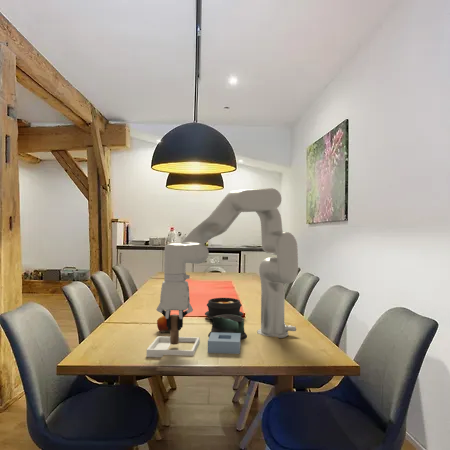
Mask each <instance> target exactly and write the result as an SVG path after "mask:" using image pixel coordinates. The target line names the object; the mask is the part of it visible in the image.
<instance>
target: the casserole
mask: <svg viewBox="0 0 450 450" xmlns="http://www.w3.org/2000/svg"><path fill="white" fill-rule="evenodd" d="M206 307H207V311H206V312H204V315H205V316H206V317H207V318H208V319H210V320H212V319H213V317H214V316H218V315H223V314H232V315H237V316H240V317H243V316H244V313H243V312H242V311H240V310H241V307H242V303H241V301H240V300H239V299H238V298H233V297H215V298H211V299H208V301H207V304H206Z"/></svg>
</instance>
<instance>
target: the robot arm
mask: <svg viewBox="0 0 450 450" xmlns="http://www.w3.org/2000/svg"><path fill="white" fill-rule="evenodd" d="M281 204H282V194H281V193H280V192H279V190H278V189H276V188H274V187H270V188H268V187H267V188H256V189H254V188H252V189H251V188H250V189H237V190H231V191H230V192H228V193H227V194H226V195H225V197H223V199H222V200H221V201H220V203H218V205H217V206H216V208H215V209H214V210H213V211H212V213H211V214H209V216H207V218H205V219H204V220H203V221H202V222H200V224H198V225H197V226H195V228H193V229H192V230H191V231H190V232H189V233H188V234H187V236H186V237H185V238H184V239H183V241H182V242H181V243H179V242H178V243H177V242H176V243H175V242H174V243H167V244H165V246H164V265H163V266H164V267H163V269H164V272H163V273H164V274H163V275H164V278H163V281H162V283H161V290H160V299H159V304H158V306H157V308H155V309H156V311H157V312H158V313H160V314H162V316H165V318H166V327H168V330H170V320H171V319H170V315H171V311H178V315H179V319H178V330H179V331H181V329H182V328H183V327H184V326H183V324H184V317H186V316H187V315H188V314H190V313H192V312H193V311H194V309H193V307H192V305H191V303H190V301H191V300H190V288H189V281H188V280H190V274H187V273H186V270H187V269H186V268H187V267H186V264H195V265H197V264H202V263H203V264H204V263H205V261H207V260H208V258H209V253H210V252H209V249H208V247H207V246H206V245H205V244H206V243H207V242H208V241H210V240H212V239H213V238H215V237H218V236H220V235H222V234H224V233H225V232H226V231H227V230H228V229H229V228H230V227H231V226H232V224H233V223H234V222H235V221H236V219H237V218H238V217H239V216H240V214H241V213H254V212H255V213H256V215H258V217H259V220H260V221H259V222H260V230H261V231H260V233H261V236H260V237H261V249H262V251H264V252H265V253H266V254H269V255H275V256H276V257H274V256H273V257H271V256H270V257H266V258H264V259H263V260H262V261H261V262H260V264H259V267H258V269H259V270H258V271H259V279H260V284H261V285H260V287H261V290H260V291H261V294H260V295H261V296H260V297H261V298H260V305H261V307H260V328H259V329H258V330H257V331H256V333H257V335H260V336H264V337H278V339H282V338H283V339H284V338H286V337H288V336H289V332H296V331H297V327H296V326H293V325H287V324H286V323H285V297H286V295H285V294H286V291H285V287H284V284H286V285H288V284H291V283H293V282H295V280H296V278H297V277H298V272H299V260H298V259H299V257H298V255H299V253H298V242H297V239H296V237H295V236H294V235H293V234H292V233H291V232H289V231H283V223H282V215H281V213H280V211H279V209H278V208H279V207H280V205H281Z"/></svg>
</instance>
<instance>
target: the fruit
mask: <svg viewBox="0 0 450 450" xmlns="http://www.w3.org/2000/svg"><path fill="white" fill-rule="evenodd" d="M156 325H157V326H156V327H157V329H158V331H159V332H160V333H162V334H164V333H170V330H168V327H166V318H165V316H164V315H162V316H159V318H158V319H157V320H156Z"/></svg>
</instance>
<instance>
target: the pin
mask: <svg viewBox="0 0 450 450" xmlns="http://www.w3.org/2000/svg"><path fill="white" fill-rule="evenodd" d="M170 319H171V320H170V332H169V333H170V336H169V337H170V344H171V345H179V343H180V342H179V337H180V333H179V331H180V330H178V319H179V314H170Z"/></svg>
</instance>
